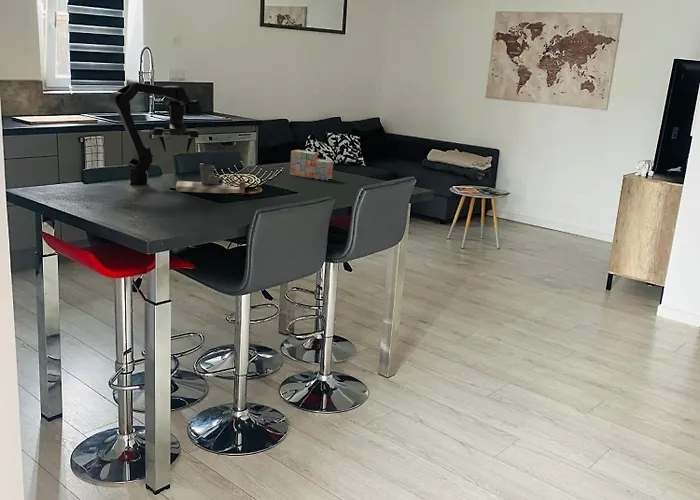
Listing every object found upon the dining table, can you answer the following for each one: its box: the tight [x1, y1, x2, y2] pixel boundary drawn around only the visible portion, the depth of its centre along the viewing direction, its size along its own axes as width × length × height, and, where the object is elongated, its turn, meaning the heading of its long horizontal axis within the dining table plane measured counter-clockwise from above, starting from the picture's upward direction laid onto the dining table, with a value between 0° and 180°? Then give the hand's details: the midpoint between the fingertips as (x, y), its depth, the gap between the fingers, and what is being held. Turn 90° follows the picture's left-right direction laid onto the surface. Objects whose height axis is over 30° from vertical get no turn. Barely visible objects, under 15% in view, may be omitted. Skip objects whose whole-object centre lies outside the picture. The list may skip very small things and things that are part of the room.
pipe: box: [198, 163, 224, 186], centre depth 293 cm, size 6×13×8 cm, turn 53°
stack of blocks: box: [289, 149, 334, 181], centre depth 344 cm, size 21×6×12 cm, turn 61°
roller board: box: [175, 180, 246, 194], centre depth 294 cm, size 28×12×5 cm, turn 101°
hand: (176, 152), depth 301 cm, fingers open, 9 cm apart
